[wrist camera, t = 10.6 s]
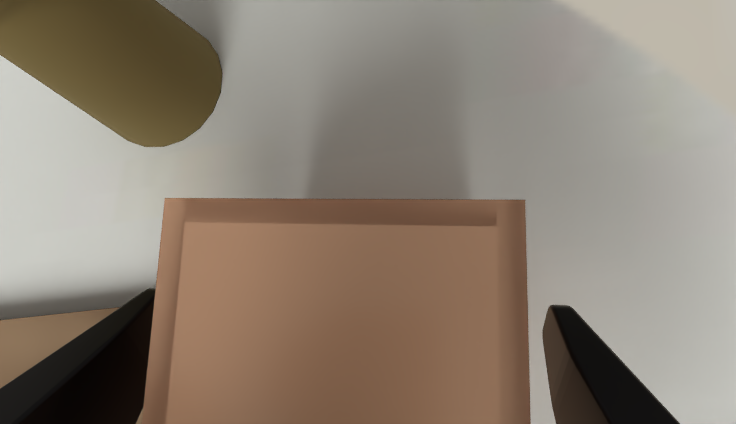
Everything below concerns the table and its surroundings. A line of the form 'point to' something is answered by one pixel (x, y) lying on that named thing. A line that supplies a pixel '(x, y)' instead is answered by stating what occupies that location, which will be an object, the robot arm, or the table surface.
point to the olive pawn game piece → (117, 63)
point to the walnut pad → (41, 339)
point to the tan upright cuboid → (340, 312)
